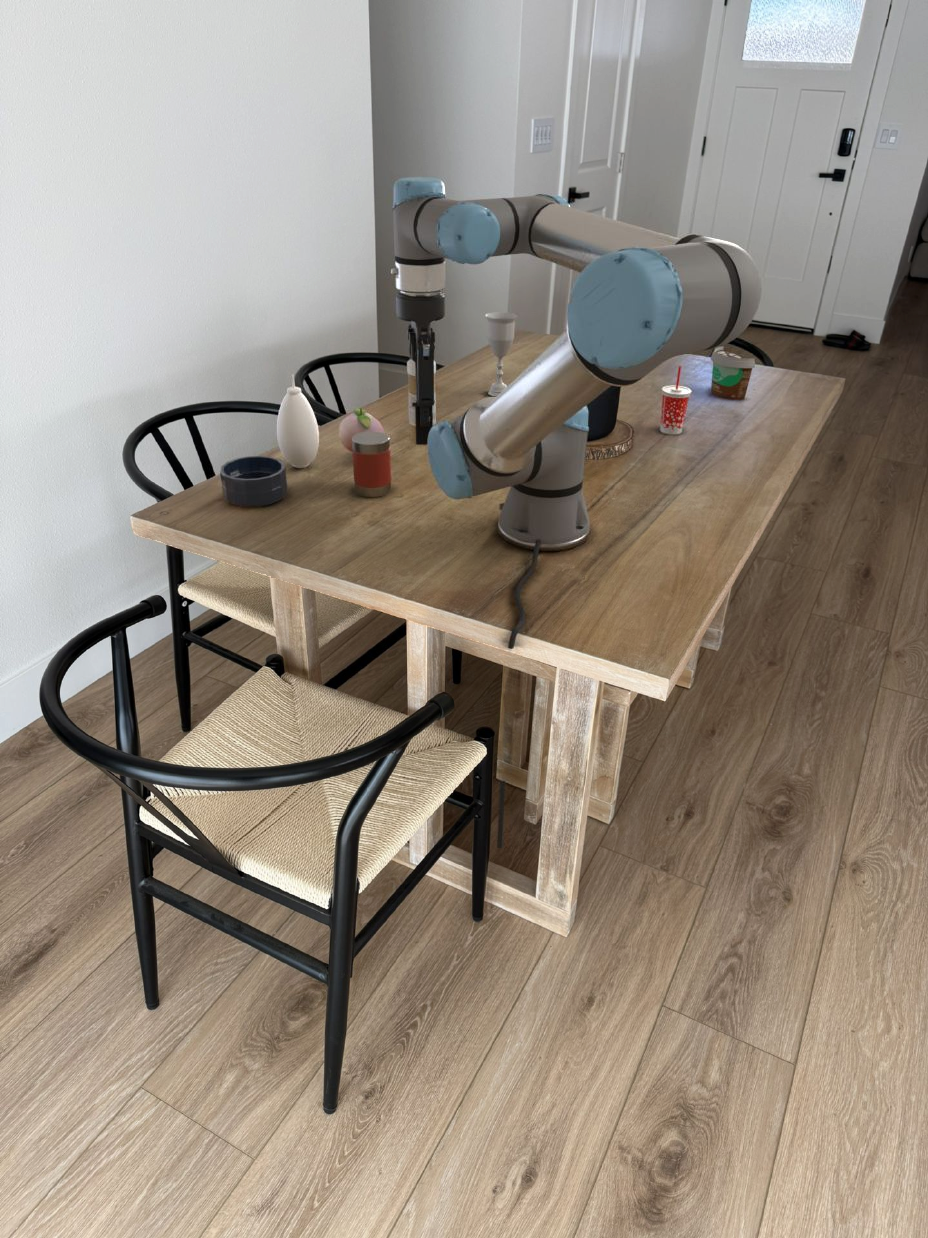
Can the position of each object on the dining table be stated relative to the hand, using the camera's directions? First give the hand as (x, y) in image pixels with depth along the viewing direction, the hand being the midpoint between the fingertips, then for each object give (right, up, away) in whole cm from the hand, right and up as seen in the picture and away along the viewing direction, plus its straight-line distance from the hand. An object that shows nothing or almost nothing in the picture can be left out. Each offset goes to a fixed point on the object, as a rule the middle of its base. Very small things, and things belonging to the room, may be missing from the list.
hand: (422, 437), depth 147 cm
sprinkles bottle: (0, -1, 0) cm, 1 cm away
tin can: (-10, -6, +15) cm, 19 cm away
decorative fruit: (-13, +2, +29) cm, 32 cm away
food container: (+69, +23, +66) cm, 98 cm away
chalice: (+15, +23, +64) cm, 70 cm away
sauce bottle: (-25, -1, +24) cm, 35 cm away
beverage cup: (+52, +10, +44) cm, 69 cm away
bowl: (-31, -8, +12) cm, 34 cm away
